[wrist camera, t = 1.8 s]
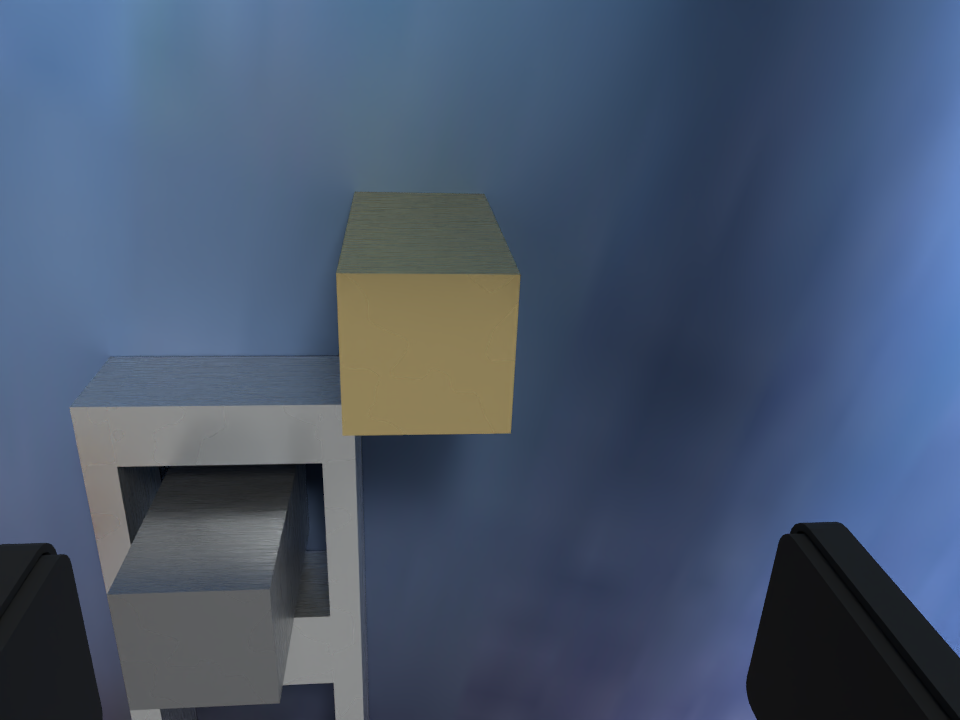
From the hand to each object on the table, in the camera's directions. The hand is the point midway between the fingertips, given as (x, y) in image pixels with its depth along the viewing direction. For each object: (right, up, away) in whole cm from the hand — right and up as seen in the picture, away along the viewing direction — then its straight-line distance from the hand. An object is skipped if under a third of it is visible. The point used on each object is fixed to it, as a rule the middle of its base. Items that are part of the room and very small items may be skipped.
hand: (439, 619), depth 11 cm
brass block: (-1, +7, +15) cm, 16 cm away
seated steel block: (-8, -1, +18) cm, 19 cm away
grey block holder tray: (-8, -5, +19) cm, 22 cm away
